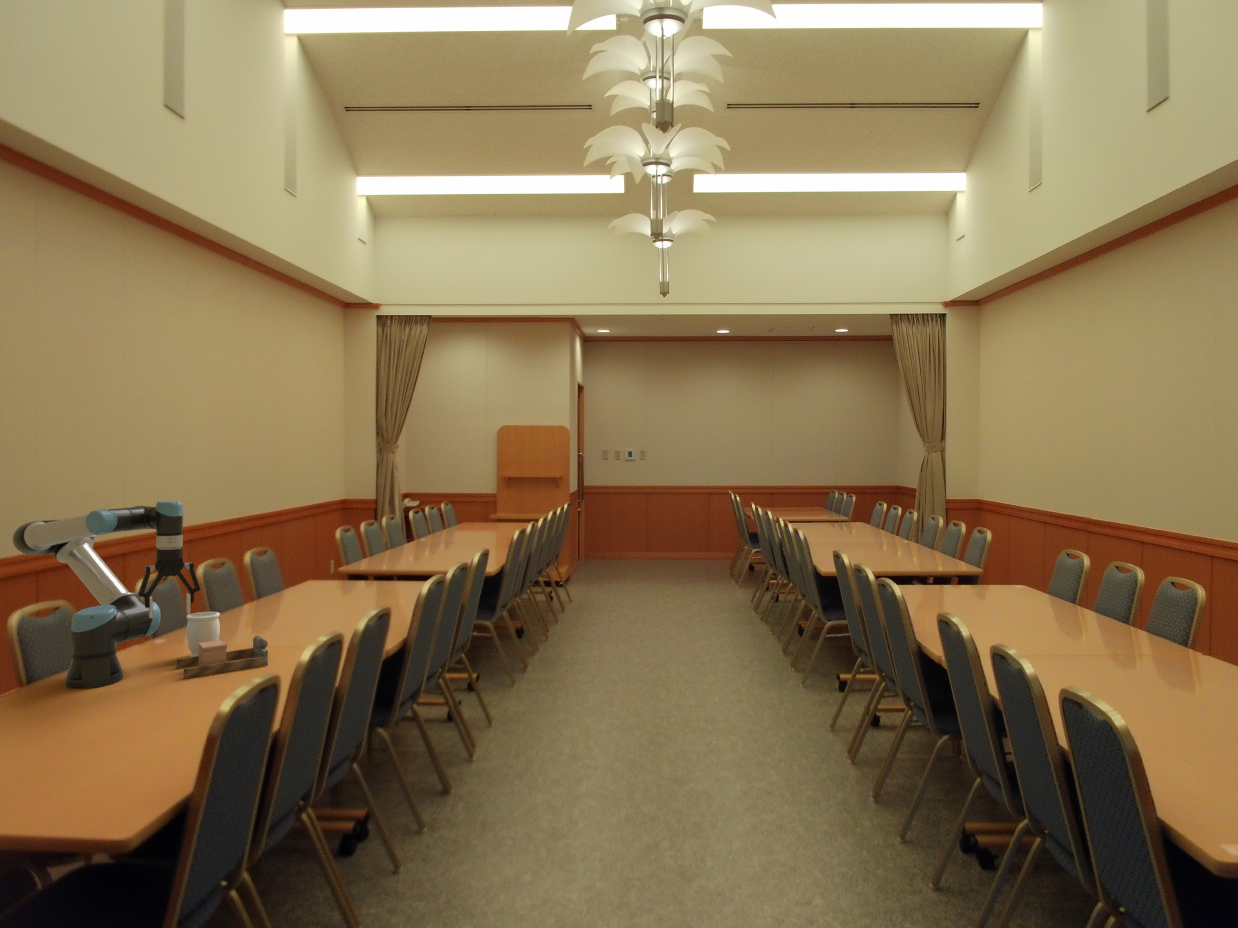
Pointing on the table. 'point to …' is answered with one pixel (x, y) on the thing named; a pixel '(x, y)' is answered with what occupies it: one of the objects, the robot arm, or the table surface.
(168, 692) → the table surface
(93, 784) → the table surface
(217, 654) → the pink block
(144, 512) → the robot arm
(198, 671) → the bay
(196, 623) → the jar
